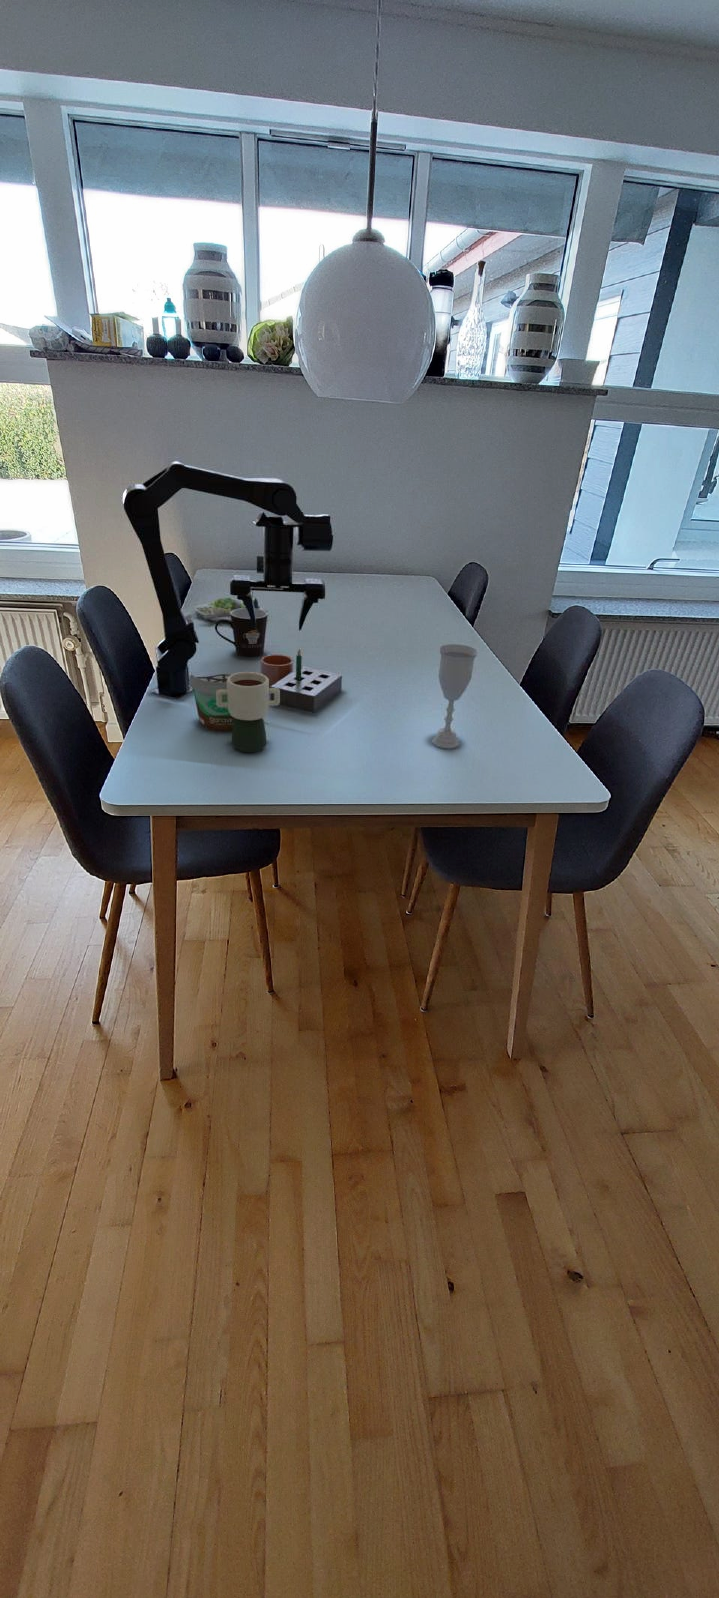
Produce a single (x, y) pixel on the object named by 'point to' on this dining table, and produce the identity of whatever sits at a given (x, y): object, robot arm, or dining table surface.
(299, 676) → the pencil
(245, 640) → the coffee mug
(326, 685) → the pen block
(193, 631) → the robot arm
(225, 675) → the food container
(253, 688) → the character mug
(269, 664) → the cup
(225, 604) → the salad plate
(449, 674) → the chalice
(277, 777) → the dining table surface
